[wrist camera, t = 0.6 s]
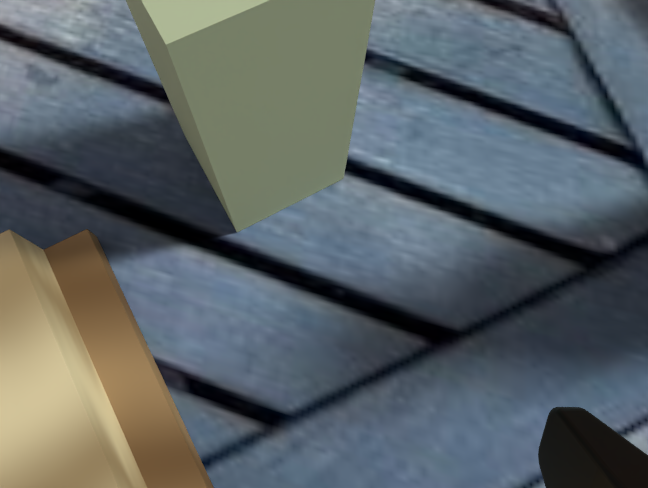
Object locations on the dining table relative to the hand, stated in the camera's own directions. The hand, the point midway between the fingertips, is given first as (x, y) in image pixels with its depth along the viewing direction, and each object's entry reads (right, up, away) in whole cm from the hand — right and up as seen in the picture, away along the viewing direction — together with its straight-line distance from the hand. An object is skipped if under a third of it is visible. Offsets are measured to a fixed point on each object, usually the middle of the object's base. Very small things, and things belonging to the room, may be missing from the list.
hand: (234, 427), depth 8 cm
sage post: (-1, +6, +16) cm, 17 cm away
